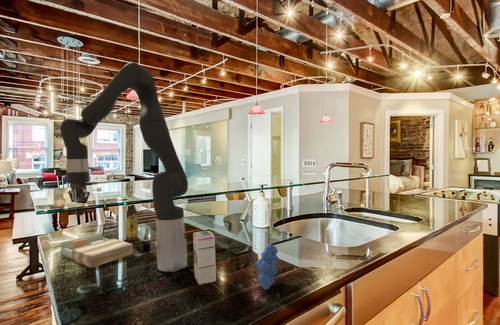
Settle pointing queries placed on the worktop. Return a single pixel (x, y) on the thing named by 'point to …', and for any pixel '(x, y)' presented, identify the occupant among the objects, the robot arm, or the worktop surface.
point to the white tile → (95, 242)
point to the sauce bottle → (132, 223)
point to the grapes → (267, 266)
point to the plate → (102, 252)
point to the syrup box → (204, 257)
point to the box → (67, 245)
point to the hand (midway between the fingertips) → (79, 215)
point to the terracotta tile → (79, 243)
